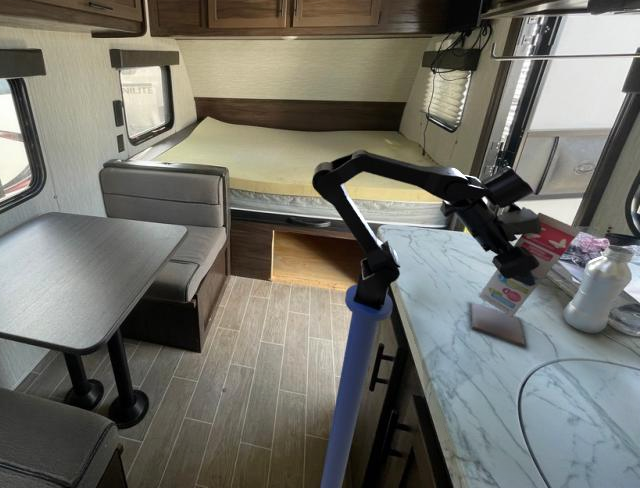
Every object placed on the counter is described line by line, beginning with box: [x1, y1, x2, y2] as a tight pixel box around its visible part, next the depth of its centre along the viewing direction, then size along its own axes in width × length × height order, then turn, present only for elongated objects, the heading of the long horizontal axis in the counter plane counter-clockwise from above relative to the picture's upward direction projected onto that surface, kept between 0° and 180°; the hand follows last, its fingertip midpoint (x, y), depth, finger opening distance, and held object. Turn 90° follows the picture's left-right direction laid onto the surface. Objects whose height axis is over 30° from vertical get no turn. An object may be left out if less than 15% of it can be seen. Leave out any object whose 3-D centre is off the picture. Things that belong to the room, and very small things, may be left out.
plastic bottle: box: [562, 244, 635, 334], centre depth 68 cm, size 6×7×20 cm
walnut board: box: [470, 302, 526, 348], centre depth 72 cm, size 9×9×1 cm
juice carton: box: [478, 211, 581, 317], centre depth 68 cm, size 7×7×22 cm
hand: (520, 271), depth 69 cm, fingers open, 9 cm apart
